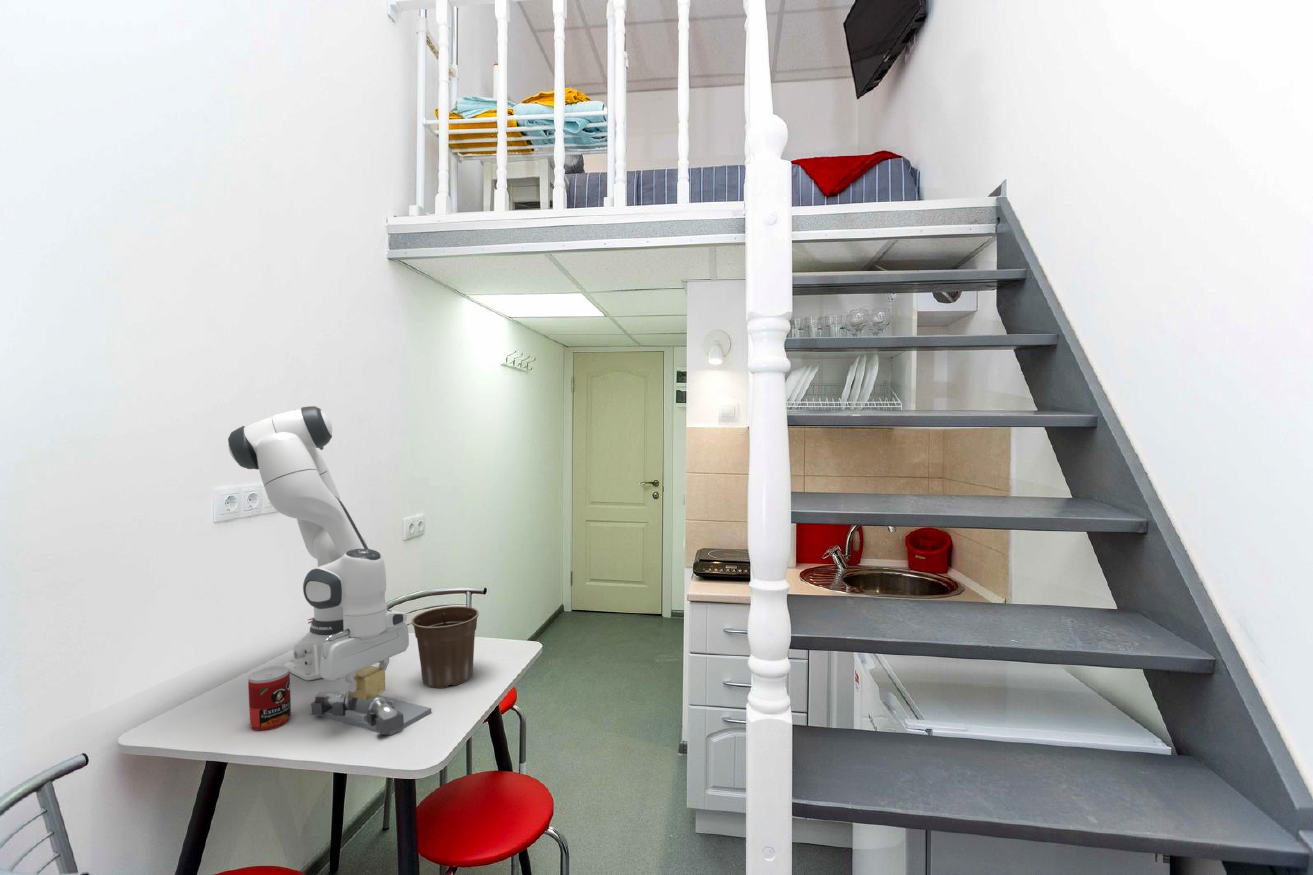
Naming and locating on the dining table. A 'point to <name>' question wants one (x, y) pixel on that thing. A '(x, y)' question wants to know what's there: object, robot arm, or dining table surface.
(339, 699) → the shaft
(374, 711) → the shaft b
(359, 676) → the golden yellow cube
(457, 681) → the plant pot
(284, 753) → the dining table surface
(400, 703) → the grey base plate
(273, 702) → the canned food
